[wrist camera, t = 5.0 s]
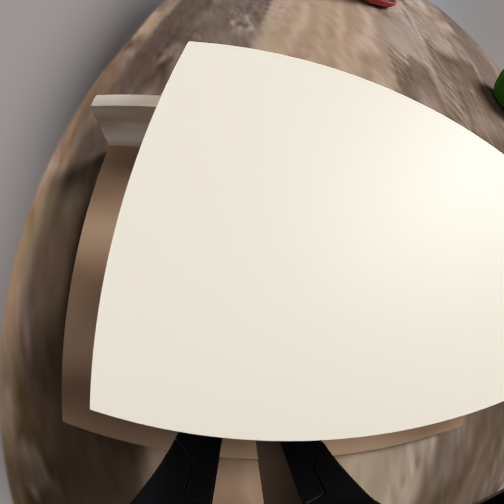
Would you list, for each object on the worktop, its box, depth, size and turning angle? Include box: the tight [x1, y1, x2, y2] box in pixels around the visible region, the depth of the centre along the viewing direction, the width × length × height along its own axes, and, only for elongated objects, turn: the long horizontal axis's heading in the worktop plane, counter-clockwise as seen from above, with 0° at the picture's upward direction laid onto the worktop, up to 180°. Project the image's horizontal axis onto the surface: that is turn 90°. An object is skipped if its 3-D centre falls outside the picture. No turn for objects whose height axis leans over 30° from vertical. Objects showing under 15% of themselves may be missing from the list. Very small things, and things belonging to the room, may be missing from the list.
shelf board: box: [62, 95, 465, 459], centre depth 14 cm, size 18×28×6 cm, turn 83°
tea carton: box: [90, 42, 504, 441], centre depth 9 cm, size 10×14×12 cm
